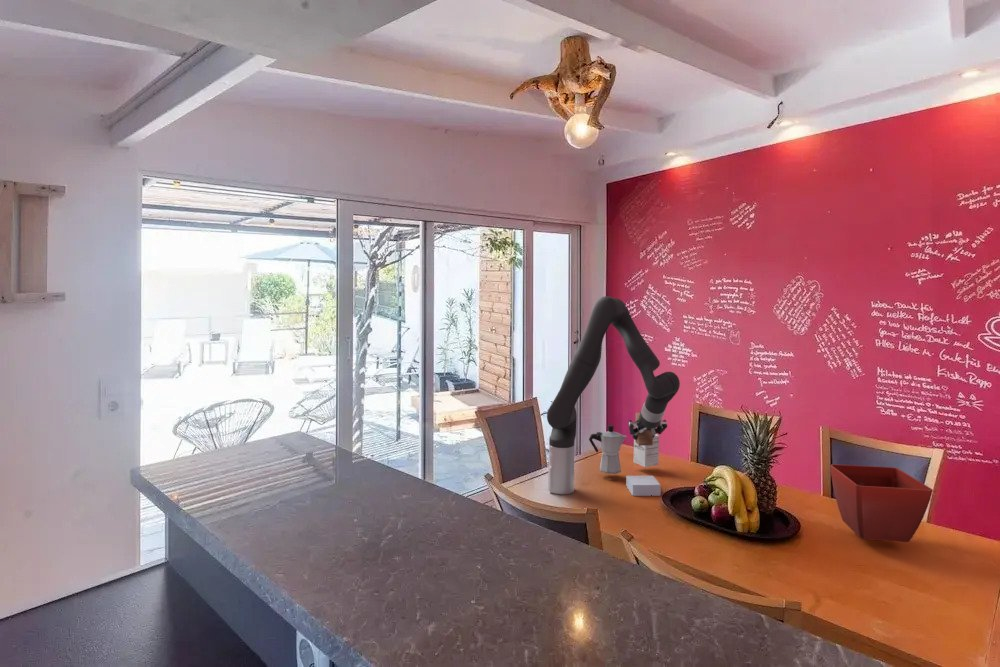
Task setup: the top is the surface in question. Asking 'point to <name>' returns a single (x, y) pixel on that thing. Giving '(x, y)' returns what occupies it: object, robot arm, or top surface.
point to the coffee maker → (609, 449)
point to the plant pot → (880, 501)
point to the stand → (643, 485)
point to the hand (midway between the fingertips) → (642, 437)
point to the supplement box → (647, 453)
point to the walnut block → (644, 436)
